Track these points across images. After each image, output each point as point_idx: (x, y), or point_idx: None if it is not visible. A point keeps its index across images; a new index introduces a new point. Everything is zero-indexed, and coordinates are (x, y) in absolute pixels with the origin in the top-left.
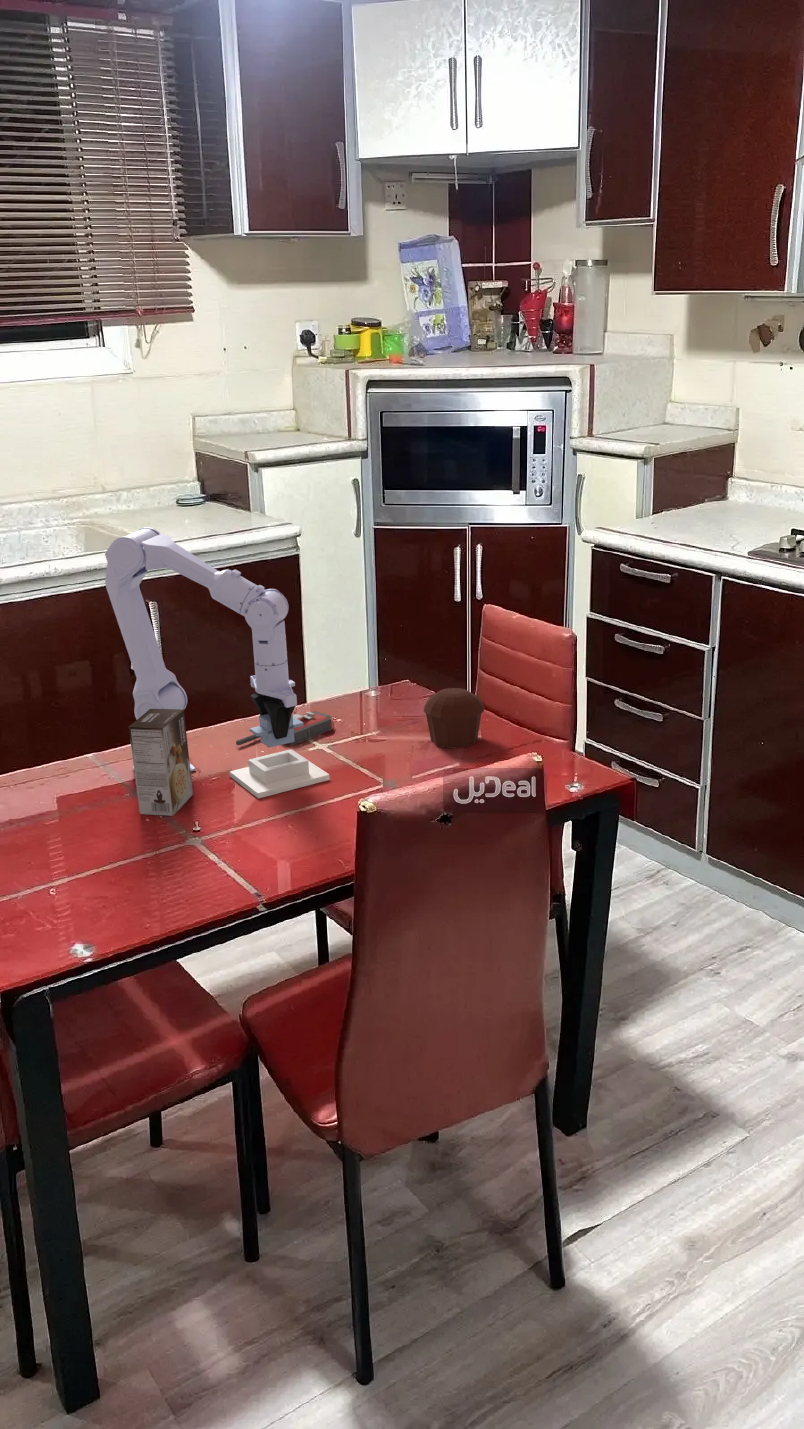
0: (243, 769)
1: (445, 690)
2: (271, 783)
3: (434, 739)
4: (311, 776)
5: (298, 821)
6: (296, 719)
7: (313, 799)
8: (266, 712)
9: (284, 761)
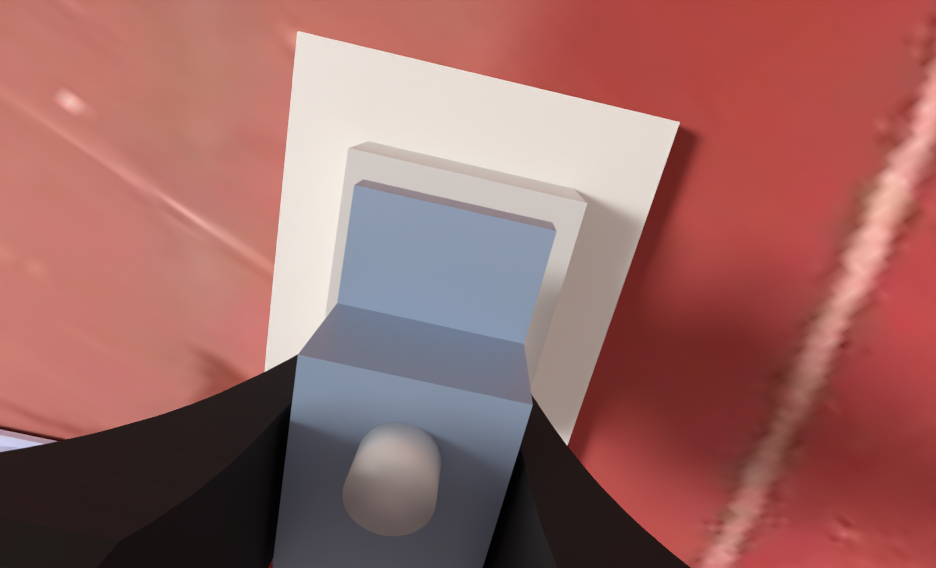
0: None
1: None
2: None
3: None
4: (615, 208)
5: (847, 493)
6: (413, 214)
7: (761, 330)
8: (253, 560)
9: None
